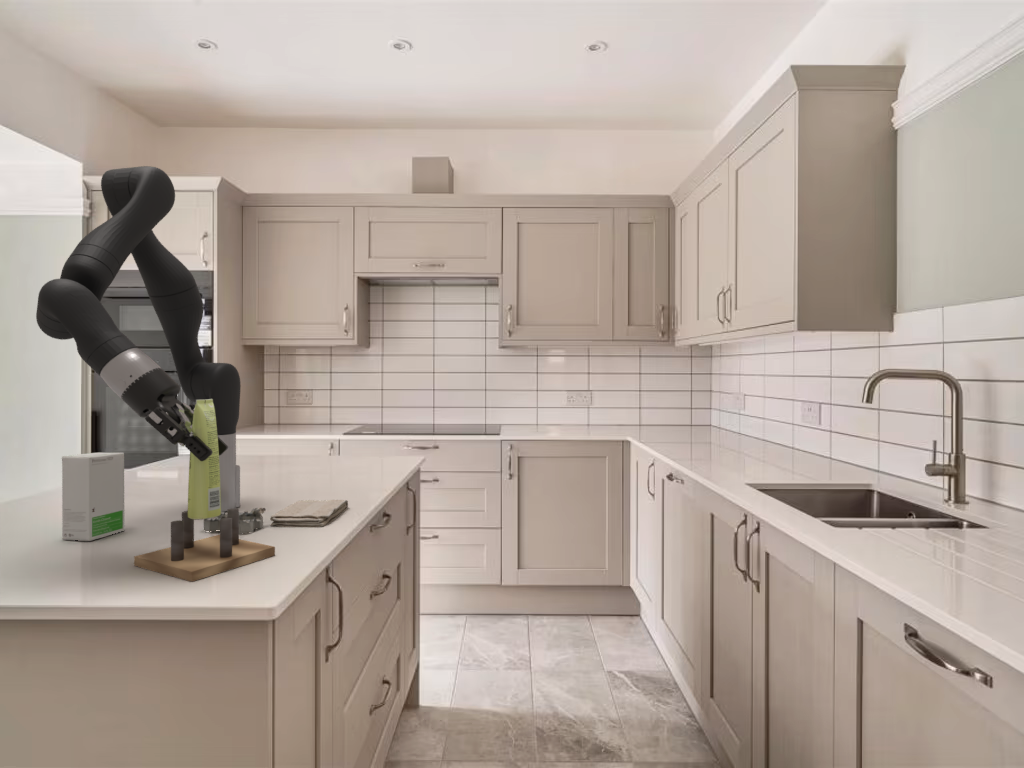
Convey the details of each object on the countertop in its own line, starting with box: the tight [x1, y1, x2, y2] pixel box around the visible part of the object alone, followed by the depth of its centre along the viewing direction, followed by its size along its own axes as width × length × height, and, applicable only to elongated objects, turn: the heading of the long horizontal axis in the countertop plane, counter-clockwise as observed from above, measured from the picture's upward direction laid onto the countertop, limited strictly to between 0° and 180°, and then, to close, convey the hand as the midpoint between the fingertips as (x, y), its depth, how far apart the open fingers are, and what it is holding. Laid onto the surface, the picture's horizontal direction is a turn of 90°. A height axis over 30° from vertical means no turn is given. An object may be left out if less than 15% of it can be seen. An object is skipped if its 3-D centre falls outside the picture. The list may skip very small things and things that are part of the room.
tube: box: [187, 399, 221, 521], centre depth 100 cm, size 6×5×20 cm
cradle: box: [133, 507, 276, 582], centre depth 100 cm, size 15×15×8 cm
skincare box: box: [61, 451, 126, 542], centre depth 115 cm, size 8×7×16 cm
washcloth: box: [269, 499, 349, 528], centre depth 131 cm, size 12×18×3 cm, turn 1°
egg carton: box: [203, 507, 266, 535], centre depth 120 cm, size 11×8×4 cm
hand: (215, 454), depth 100 cm, fingers closed on tube, 6 cm apart
